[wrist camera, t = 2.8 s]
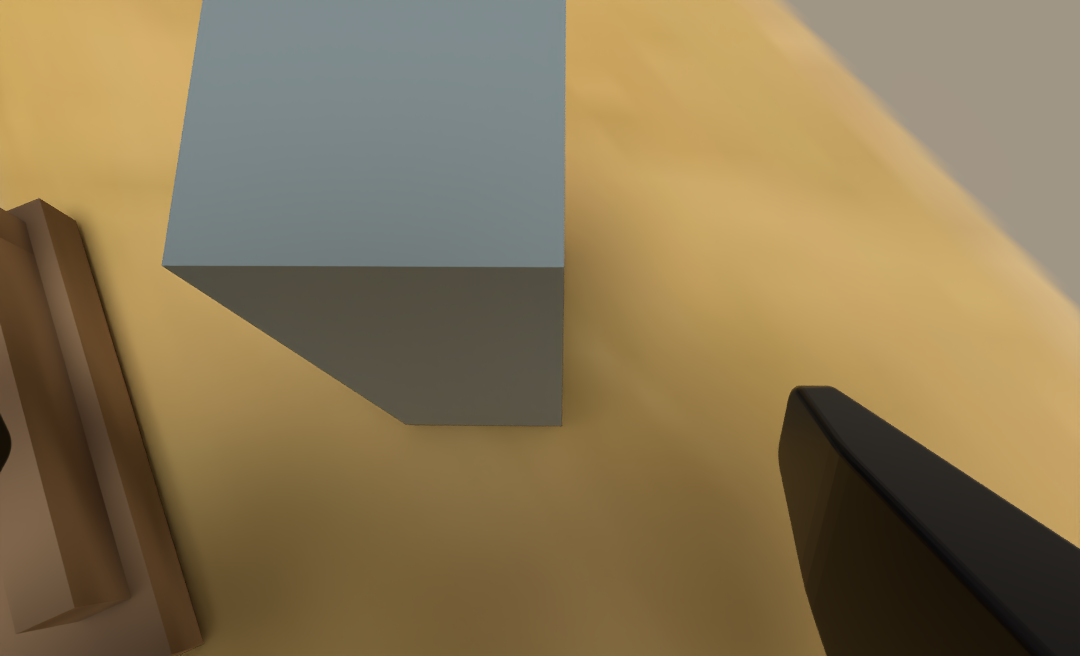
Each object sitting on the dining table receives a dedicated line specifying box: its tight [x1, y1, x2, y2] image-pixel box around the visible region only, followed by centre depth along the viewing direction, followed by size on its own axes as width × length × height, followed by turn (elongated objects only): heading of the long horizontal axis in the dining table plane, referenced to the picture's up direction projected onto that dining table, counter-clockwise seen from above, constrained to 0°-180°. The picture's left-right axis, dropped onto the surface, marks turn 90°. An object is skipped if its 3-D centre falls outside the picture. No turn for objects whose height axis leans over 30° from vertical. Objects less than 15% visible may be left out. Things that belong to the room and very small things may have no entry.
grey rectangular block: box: [162, 0, 566, 426], centre depth 14 cm, size 5×4×12 cm
